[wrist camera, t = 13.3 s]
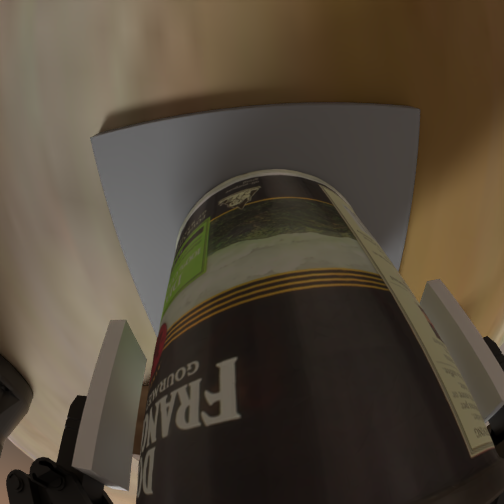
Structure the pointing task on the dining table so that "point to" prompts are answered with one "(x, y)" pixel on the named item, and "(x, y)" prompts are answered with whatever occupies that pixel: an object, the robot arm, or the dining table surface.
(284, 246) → the coffee can
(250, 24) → the dining table surface
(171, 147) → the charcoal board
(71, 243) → the dining table surface
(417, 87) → the dining table surface
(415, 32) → the dining table surface
